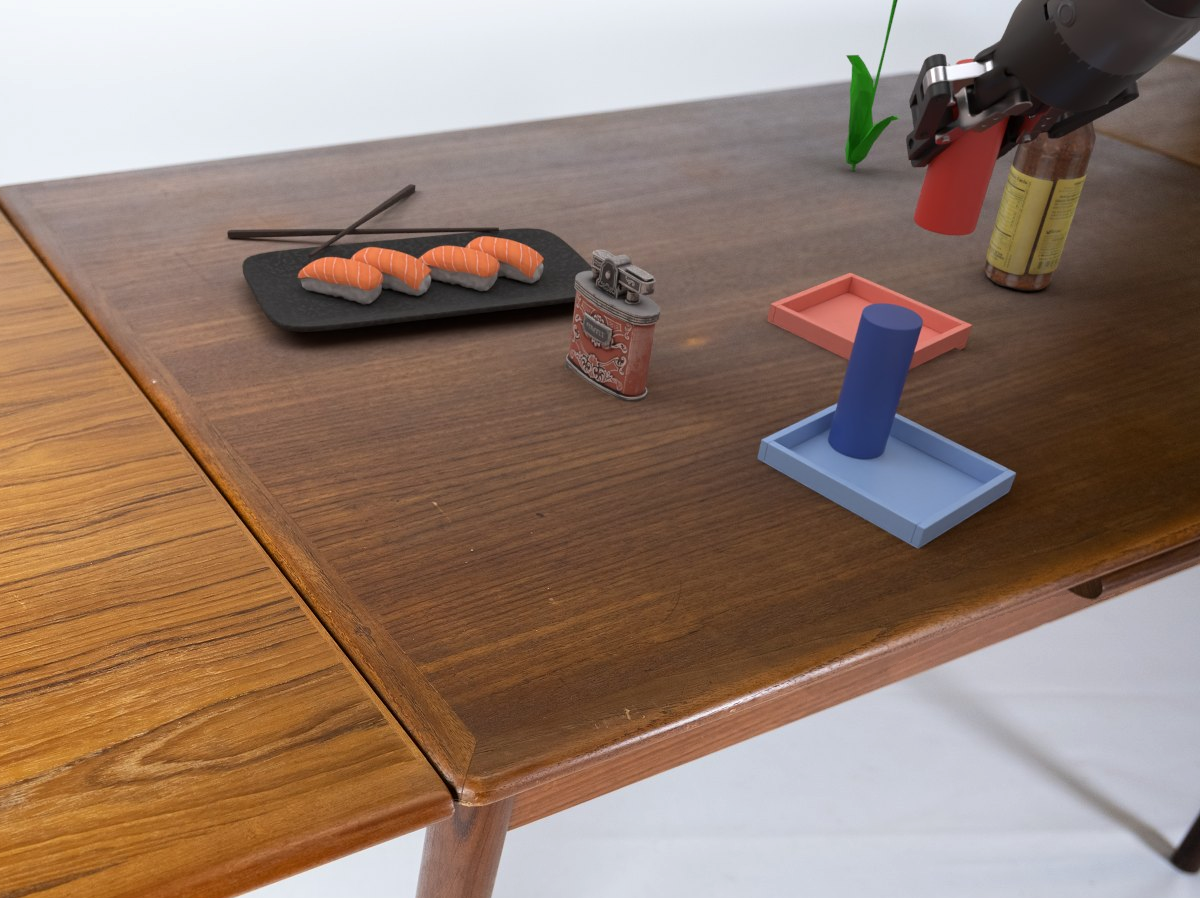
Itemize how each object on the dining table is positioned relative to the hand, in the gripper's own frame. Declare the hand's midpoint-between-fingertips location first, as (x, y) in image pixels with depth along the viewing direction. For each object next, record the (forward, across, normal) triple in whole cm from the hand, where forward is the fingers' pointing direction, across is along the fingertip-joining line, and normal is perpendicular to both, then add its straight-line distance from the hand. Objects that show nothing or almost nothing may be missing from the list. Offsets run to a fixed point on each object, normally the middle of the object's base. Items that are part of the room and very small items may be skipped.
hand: (947, 152), depth 84 cm
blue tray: (+8, +4, +20) cm, 22 cm away
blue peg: (+10, +4, +17) cm, 20 cm away
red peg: (+1, 0, +4) cm, 4 cm away
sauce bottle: (+30, -24, -2) cm, 39 cm away
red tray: (+23, -5, +5) cm, 24 cm away
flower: (+50, -21, -22) cm, 58 cm away
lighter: (+18, +19, +10) cm, 28 cm away
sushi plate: (+35, +32, -7) cm, 48 cm away
